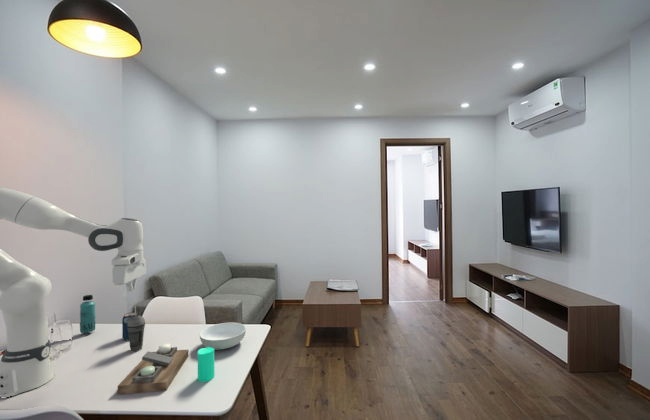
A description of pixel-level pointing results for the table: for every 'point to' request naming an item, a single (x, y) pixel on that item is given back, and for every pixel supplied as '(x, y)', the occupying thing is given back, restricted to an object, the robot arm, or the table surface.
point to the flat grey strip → (157, 358)
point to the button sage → (148, 371)
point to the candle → (205, 364)
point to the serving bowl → (222, 335)
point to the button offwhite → (164, 348)
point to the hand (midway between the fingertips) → (131, 290)
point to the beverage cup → (136, 332)
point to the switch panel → (158, 379)
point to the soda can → (124, 324)
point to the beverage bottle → (87, 315)
